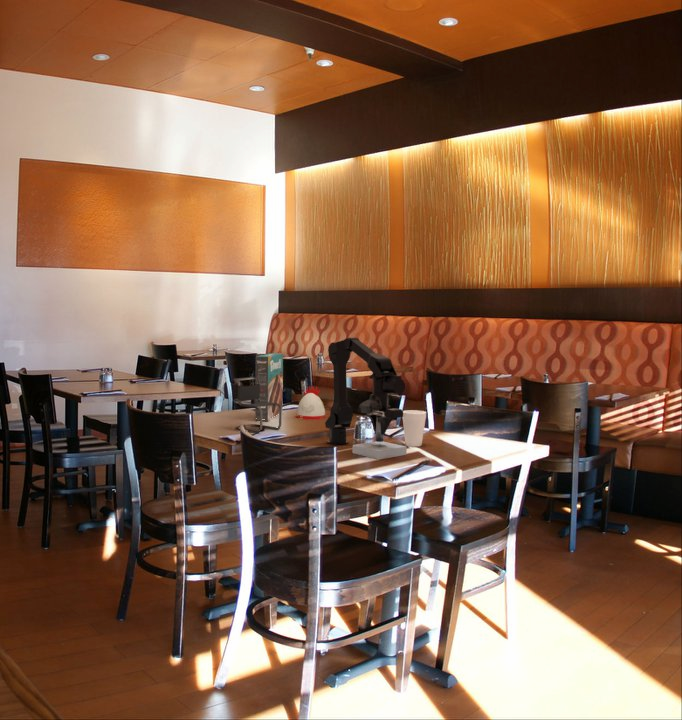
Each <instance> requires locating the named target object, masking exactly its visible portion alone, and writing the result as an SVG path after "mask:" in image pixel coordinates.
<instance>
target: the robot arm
mask: <svg viewBox="0 0 682 720" xmlns="http://www.w3.org/2000/svg"><path fill="white" fill-rule="evenodd" d="M327 350H328V351H327V353H328V358H329V361H330V362H331V364H332V366H333V395H334V396H333V398H334V399H333V400H334V401H333V404H332V405H331V407H330V413H329V414H330V415H329V416H328V418H327V419H326V421H325V423H324V425H325V428H326V429H329V440H328V441H326V443H327V444H331V445H334V446H338V445H346V444H350V442H349V441H347V428H351V424H352V421H353V417H354V411H353V406H350V404H349V402H348V386H347V385H348V384H347V383H348V382H347V364H348V362H349V360H350V358H351V353H352V352H353V353H354V354H355V355H357V356H358V357H359V358H361V359H362V360H363V361H364V362H365V363H366V364H367V365H366V366H367V368H368V369H369V370H370V371H371V373H372V374H370V376H368V377H369V379H371V380H372V394H369V399H367V400H365V401H363V402H361V403H360V404H359V405H358V407H357V413H359V414H365V416H366V417H367V418H369V419H370V421H371V425H372V428H373V431H374V433H375V435H376V415H382V417H378V418H379V419H380V421H381V435H384V436H385V434H386V431H388V429H389V427H390V424H391V422H392V421H393V419H399V418H402V417H403V411H404V410H403V409H401V408H396V407H395V408H391V405H389V399H390V398H391V397H392V396H391V395H398V396H400V395H402V394H403V393H404V392H405V390H406V382H405V381H404V380H403V379H402V375H398V373H397V371H396V369H395V367H394V365H393V363H392V360H391V358H389V357H387V356H386V355H383V354H379V353H376V352H375V351H374V350H373V349H371V348H370V347H369V346H367V344H364V342H362V341H361V340H360V339H359V338H358V337H356V336H355V337H346V338H345V339H342V340H340V341H335V342H331V343H330V344H329V345H328V348H327Z"/></svg>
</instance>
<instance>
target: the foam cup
mask: <svg viewBox="0 0 682 720" xmlns="http://www.w3.org/2000/svg"><path fill="white" fill-rule="evenodd" d="M402 411H403V417H401V418H402V423H403V425H402V426H403V435H404V443H405V444H404V445H405V446H406V447H412V448H413V447H415V448H416V447H421V446H422V444H423V438H424V430H425V425H426V420H427V411H424V410H417V409H415V410H412V409H411V410H402Z"/></svg>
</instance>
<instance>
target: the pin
mask: <svg viewBox="0 0 682 720" xmlns="http://www.w3.org/2000/svg"><path fill="white" fill-rule="evenodd" d="M382 415H383V414H382ZM382 415H376V434H375V442H385V437H384V436H385V434H384V435H381V421H380V419H379V418H378V417H382Z"/></svg>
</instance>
